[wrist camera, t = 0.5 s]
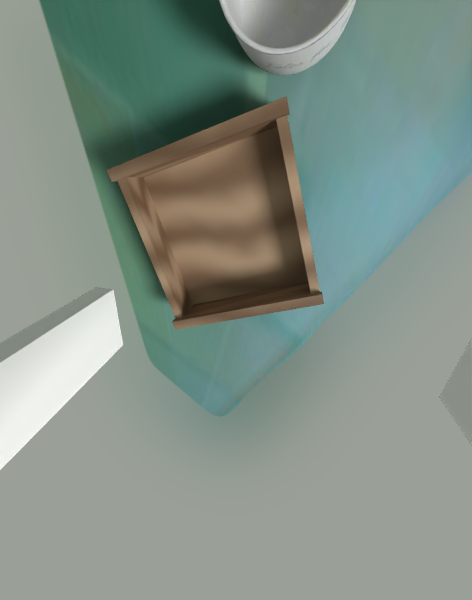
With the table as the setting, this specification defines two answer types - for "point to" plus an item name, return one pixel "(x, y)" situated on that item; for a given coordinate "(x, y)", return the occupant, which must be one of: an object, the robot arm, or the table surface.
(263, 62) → the teacup
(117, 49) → the table surface
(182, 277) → the crate
